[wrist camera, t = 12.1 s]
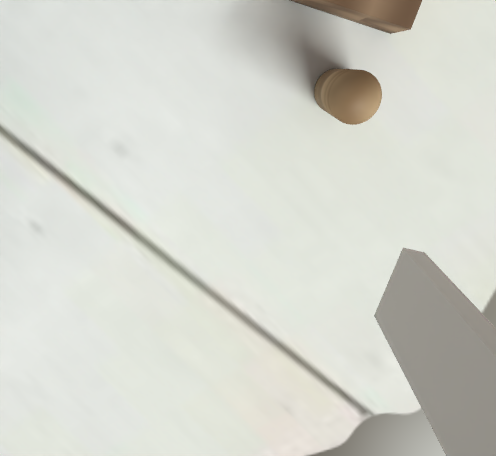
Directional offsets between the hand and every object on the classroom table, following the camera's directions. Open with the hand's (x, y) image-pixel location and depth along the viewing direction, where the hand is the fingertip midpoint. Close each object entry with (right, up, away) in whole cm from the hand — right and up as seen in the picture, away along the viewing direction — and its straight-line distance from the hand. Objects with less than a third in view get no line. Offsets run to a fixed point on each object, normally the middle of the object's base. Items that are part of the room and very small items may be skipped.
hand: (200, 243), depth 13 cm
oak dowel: (+10, +14, +25) cm, 30 cm away
